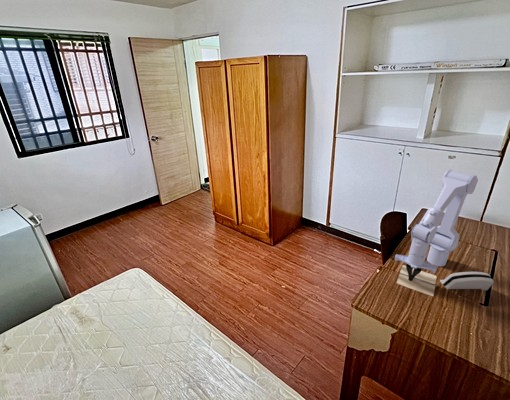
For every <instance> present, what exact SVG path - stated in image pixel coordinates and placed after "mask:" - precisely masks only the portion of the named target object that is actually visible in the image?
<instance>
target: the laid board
mask: <svg viewBox="0 0 510 400" xmlns="http://www.w3.org/2000/svg"><path fill="white" fill-rule="evenodd" d="M413 271H414V268H413V270H412V273H413ZM399 274H401V275H404V276H407V277H408V272H407V269H406V265H404V264H402V265H401V267H400V270H399ZM414 279H416V280H419V281H422V282H425V283H428V284H431V285H434V286H436V282H437V275H435V274H434V273H433V274H432V273H429V272H426V271H423V270H421V272H420V273H419V274H417V275H416V276H415V277H414Z"/></svg>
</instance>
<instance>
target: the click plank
mask: <svg viewBox="0 0 510 400" xmlns="http://www.w3.org/2000/svg"><path fill="white" fill-rule="evenodd" d="M408 279H409V277H408V276H405V275H402V274H400V273H399V274H398V278H397V281H396V284H397V285H399V286H402V287H405V288H408V289H410V290H412V291H416V292H419V293H422V294H424V295H427V296H431V297H434V295H435V289H436V285H432V284H429V283H426V282H423V281H420V280H417V279H413V280H412V281H410V280H408Z"/></svg>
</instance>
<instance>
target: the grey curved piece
mask: <svg viewBox="0 0 510 400" xmlns="http://www.w3.org/2000/svg"><path fill="white" fill-rule="evenodd" d="M439 282H440V283H441V285H442V286H444V288H445V289H447V290H481V291H488V290H489V289H490V288H491V287H492V285H493V284H494V283H495V282H494V279H493V278H491V275H490V274H489V273H487V272H482V271H461V272H460V271H459V272H455V273H454V272H453V273H450V274H449V275H448V276H447V277H445V278H444V279H439Z"/></svg>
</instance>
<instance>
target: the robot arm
mask: <svg viewBox="0 0 510 400" xmlns="http://www.w3.org/2000/svg"><path fill="white" fill-rule="evenodd" d="M478 180H479V179H478V176H477V175H476V174H469V173H465V172H461V171H456V170H453V169H448V170H446V171H445V173H444V174H443V176H442V180H441V181H442V182H441V187H442V190H441V192H440V194H439V195H438V197H437V199H436V201H435V203H434V205H433V206H431V207H429V208H428V209H427V210H426V212H425V213H424V214H423V217H422V218H421V220H420V221H419V223H416V224H415V225H414V226H413V227H412V230H411V232H410V237H411V238H410V239H411V245H410V248H409V252H408V255H402V254H397V253H396V254H395V256H394V261H396V262H398V261H399V262H402V263H404V264H406V265H405V266H406V269H407V272H408V276H407V277H409V279H408V280H410V281H412V280H413V279H414V277H415V276H416V275H417V274H419V273H420V272H421V271H422V269H424V270H427V271H431V273H433V274H436V272H437V268H438V267H445V266H446V264H447V261H448V258H449V255H450V252H453V251H455V250H456V248H457V247H458V244H459V241H460V233H458V231H457V230H456V229H455V227H456V224H457V220H458V218H459V216H460V213H461V211H462V208H463V205H464V203H465V201H466V198H467V195H472V194H473V193H474V191H475V190H476V186H477V184H478ZM428 250H429V251H428ZM425 259H426V261H425ZM413 268H414V271H413V273H412V270H413Z"/></svg>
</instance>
